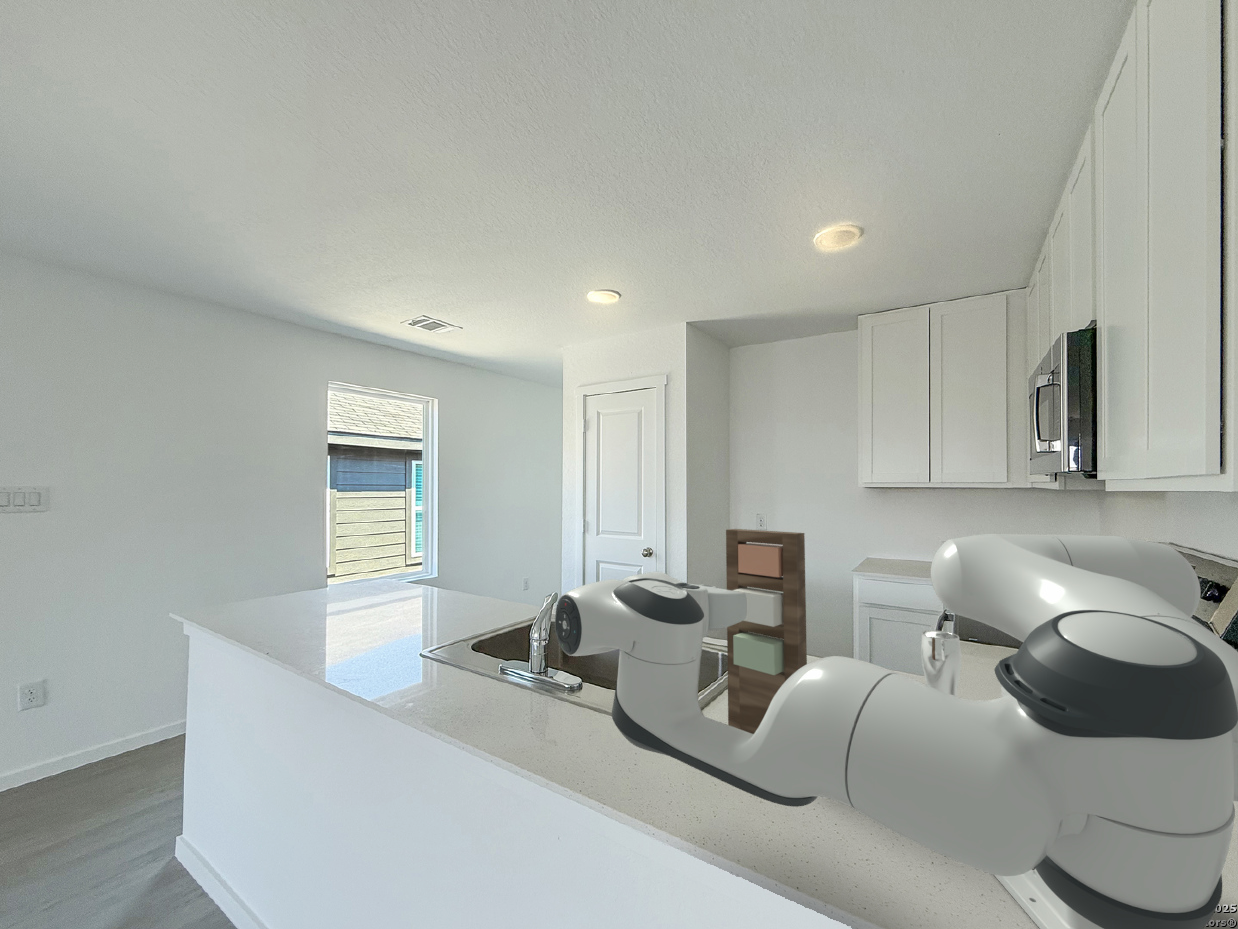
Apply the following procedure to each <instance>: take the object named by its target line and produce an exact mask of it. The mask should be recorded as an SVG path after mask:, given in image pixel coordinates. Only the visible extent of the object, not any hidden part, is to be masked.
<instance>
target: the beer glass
mask: <svg viewBox="0 0 1238 929" xmlns="http://www.w3.org/2000/svg"><path fill="white" fill-rule="evenodd" d="M920 642H921V644H920V657H921V665H922V666H921V667H922V670H923V675H924V680H925V684H926V685H929V686H931V687H933V688H935V689H938V690H940V691H943V692H945V693H948V694H951V695H954V696H957V697H958V688H959V683H960V676H961V671H962V670H961V669H962V650H961V642H960V636H959V634H956V633H953V632H948V631H944V630H943V631H942V630H936V629H933V630H932V629H930V630H923V631H922V632H921V640H920Z"/></svg>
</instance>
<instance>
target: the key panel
mask: <svg viewBox="0 0 1238 929" xmlns="http://www.w3.org/2000/svg"><path fill="white" fill-rule="evenodd" d="M805 539H806V538H805V532H796V531H795V532H792V531H776V530H762V529H761V530H759V529H747V528H746V529H743V528H730V529H729V528H728V529H727V528H726V529H725V542H726V543H725V547H726V549H725V552H726V553H725V555H726V556H725V558H726V559H725V561H726V562H725V563H726V564H725V565H726V570H725V571H726V590H732V591H733V590H736V589H740V588H744V587H746V588H753V589H759V590H766V591H773V592H779V593H783V602H784V623H783V624H780V625H777V626H775V627H772V626H767V625H762V624H757V623H752V622H748V621H741V622H739V623H737V624H734V625H732V626H729V627H726V635H727V637H726V638H727V639H726V640H727V643H726V645H727V646H726V647H727V648H726V649H727V652H726V654H727V655H726V656H727V719H728V720H727V721H728V723H727V725H729V726H732V727H735V728H738V729H740V730H743V731H746V732H749V733H751V734H754V733H755V732H756V730H757V729H758V727H759V725H760V724H761V722H762V720H763V718H764V716H765V714H766V712H767V710H768V707H769V705H770V703H771V701H772V699H773V697H774V696H775V694H776V693H777V691H778V690H779V689H780V687H781V686H782V685H783V684H784V682H785V681H786V680H787V679H788V678H789V677H790V676H791V675H792V674H794V673H795V672H796V671H797V670H798V669H800V668H801V667H803V666H804V665H806V664H808V658H807V656H808V654H807V647H808V646H807V613H806V612H807V604H806V602H807V600H806V598H807V595H806V590H807V589H806V550H805V549H806V546H805V544H806V543H805V542H806V541H805ZM746 543H757V544H770V545H782V546H783V576H782V577H772V576H764V575H756V574H749V573H741V572H738V544H746ZM745 631H746V632H751V633H755V634H760V635H765V636H769V637H774V638H778V639H783V640H784V663H785V671H782V672H780V673H778V674H776V675H771V674H768V673H764V672H760V671H757V670H753V669H750V668H746V667H742V666H739V665H735V664H734V653H733V636H734V635H736V634H739V633H742V632H745Z"/></svg>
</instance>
